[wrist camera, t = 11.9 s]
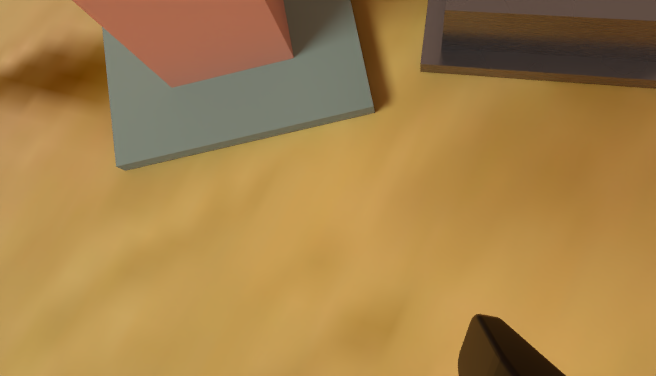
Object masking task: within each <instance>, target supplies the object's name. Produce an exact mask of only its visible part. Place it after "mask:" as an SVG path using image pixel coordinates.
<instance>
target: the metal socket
mask: <svg viewBox="0 0 656 376" xmlns="http://www.w3.org/2000/svg"><path fill="white" fill-rule="evenodd" d="M421 72H434V73H448V74H462V75H476V76H490V77H504V78H518V79H532V80H546V81H559V82H573V83H587V84H601V85H615V86H629V87H643V88H656V0H428V7H427V16H426V24H425V32H424V40H423V49H422V57H421Z"/></svg>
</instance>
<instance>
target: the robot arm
mask: <svg viewBox="0 0 656 376" xmlns="http://www.w3.org/2000/svg"><path fill="white" fill-rule="evenodd" d="M458 374H459V376H566V375H564V374H563V373H562V372H561V371H560V370H559V369H558V368H556V367H555V366H554V365H553V364H552V363H551V362H550V361H548V360H547V359H546V358H545V357H544V356H543V355H542V354H540V353H539V352H538V351H537V350H536V349H535V348H534V347H532V346H531V345H530V344H529V343H528V342H527V341H526V340H524V339H523V338H522V337H521V336H520V335H519V334H518V333H516V332H515V331H514V330H513V329H512V328H511V327H510V326H508V325H507V324H506V323H505V322H504V321H503V320H501V319H500V318H498V317H493V316H488V315H482V314H476V315H475V316H474V317H473V318H472V320H471V322H470V325H469V327H468V330H467V333H466V336H465V339H464V342H463V345H462V347H461V350H460V354H459V359H458Z"/></svg>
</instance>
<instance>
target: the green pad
mask: <svg viewBox="0 0 656 376" xmlns="http://www.w3.org/2000/svg"><path fill="white" fill-rule="evenodd" d="M283 1H284V6H285V12H286V17H287V23H288V28H289V34H290V39H291V45H292V50H293V56H294V58H292V59H288V60H284V61H280V62H276V63H272V64H268V65H264V66H259V67H255V68H251V69H247V70H243V71H239V72H235V73H231V74H227V75H222V76H218V77H214V78H210V79H206V80H202V81H198V82H194V83H190V84H185V85H181V86H177V87H173V88H171V87H170V86H169V85H168V84H167V83H166V82H165V81H164V80H162V79H161V78H160V77H159V76H158V75H157V74H156V73H154V72H153V71H152V70H151V69H150V68H149V67H148V66H146V65H145V64H144V63H143V62H142V61H141V60H140V59H139V58H137V57H136V56H135V55H134V54H133V53H132V52H131V51H129V50H128V49H127V48H126V47H125V46H124V45H123V44H121V43H120V42H119V41H118V40H117V39H116V38H115V37H114V36H112V35H111V34H110V33H109V32H108V31H107V30H106V29H104V28H103V27H102V29H103V39H104V49H105V59H106V69H107V79H108V89H109V99H110V109H111V119H112V129H113V139H114V149H115V159H116V167H118V168H121V169H123V170H130V169H134V168H138V167H143V166H147V165H151V164H156V163H160V162H164V161H169V160H173V159H177V158H181V157H186V156H190V155H194V154H199V153H203V152H207V151H212V150H216V149H220V148H224V147H229V146H233V145H237V144H242V143H246V142H250V141H255V140H259V139H263V138H268V137H272V136H276V135H280V134H285V133H289V132H293V131H298V130H302V129H306V128H311V127H315V126H319V125H324V124H328V123H332V122H336V121H341V120H345V119H349V118H354V117H358V116H362V115H367V114H371V113H375V110H374V106H373V101H372V97H371V92H370V87H369V83H368V78H367V74H366V69H365V65H364V60H363V55H362V51H361V46H360V42H359V37H358V33H357V28H356V23H355V19H354V14H353V10H352V5H351V1H350V0H283Z"/></svg>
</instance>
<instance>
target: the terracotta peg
mask: <svg viewBox="0 0 656 376" xmlns="http://www.w3.org/2000/svg"><path fill="white" fill-rule="evenodd" d="M73 1H74V2H75V3H76V4H77V5H78V6H79V7H81V8H82V9H83V10H84V11H85V12H86V13H87V14H88V15H90V16H91V17H92V18H93V19H94V20H95V21H96V22H98V23H99V24H100V25H101V26H102V27H103V28H104V29H106V30H107V31H108V32H109V33H110V34H111V35H112V36H114V37H115V38H116V39H117V40H118V41H119V42H120V43H121V44H123V45H124V46H125V47H126V48H127V49H128V50H129V51H131V52H132V53H133V54H134V55H135V56H136V57H137V58H139V59H140V60H141V61H142V62H143V63H144V64H145V65H146V66H148V67H149V68H150V69H151V70H152V71H153V72H154V73H156V74H157V75H158V76H159V77H160V78H161V79H162V80H164V81H165V82H166V83H167V84H168V85H169V86H170V87H171V88H173V87H177V86H181V85H185V84H190V83H194V82H198V81H202V80H206V79H210V78H214V77H218V76H222V75H227V74H231V73H235V72H239V71H243V70H247V69H251V68H255V67H259V66H264V65H268V64H272V63H276V62H280V61H284V60H288V59H292V58H294V56H293V50H292V45H291V39H290V34H289V28H288V23H287V17H286V12H285V6H284V1H283V0H73Z"/></svg>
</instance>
